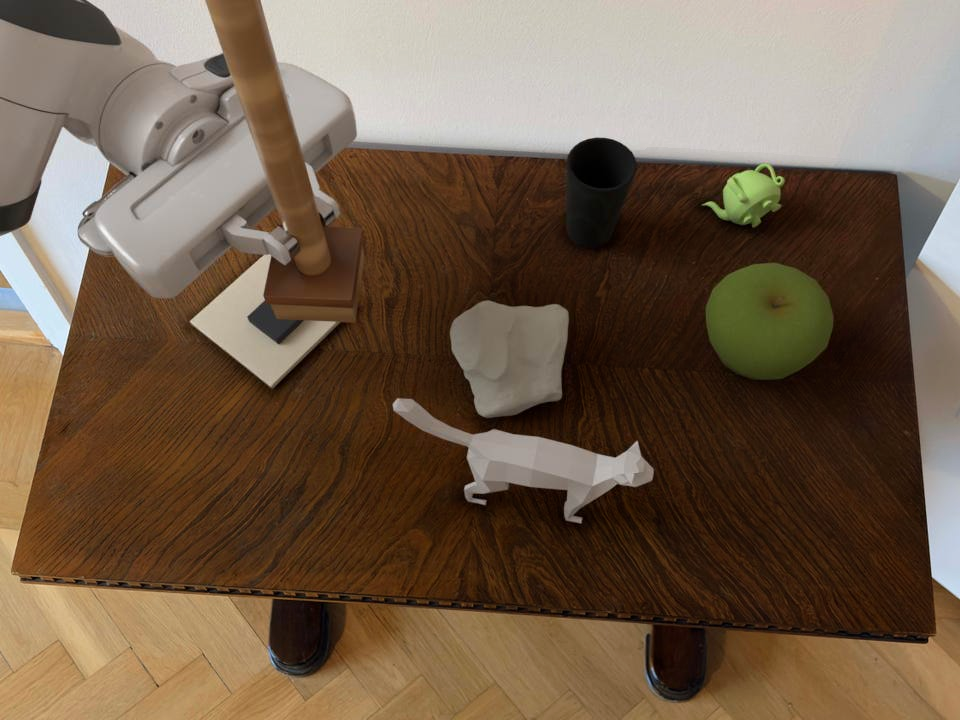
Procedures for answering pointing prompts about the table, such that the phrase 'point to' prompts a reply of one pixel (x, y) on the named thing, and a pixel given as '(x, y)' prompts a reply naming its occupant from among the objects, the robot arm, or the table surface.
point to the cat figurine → (534, 462)
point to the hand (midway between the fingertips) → (312, 234)
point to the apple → (768, 320)
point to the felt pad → (272, 323)
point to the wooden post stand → (287, 178)
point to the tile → (247, 342)
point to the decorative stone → (511, 355)
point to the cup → (597, 189)
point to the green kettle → (749, 196)
